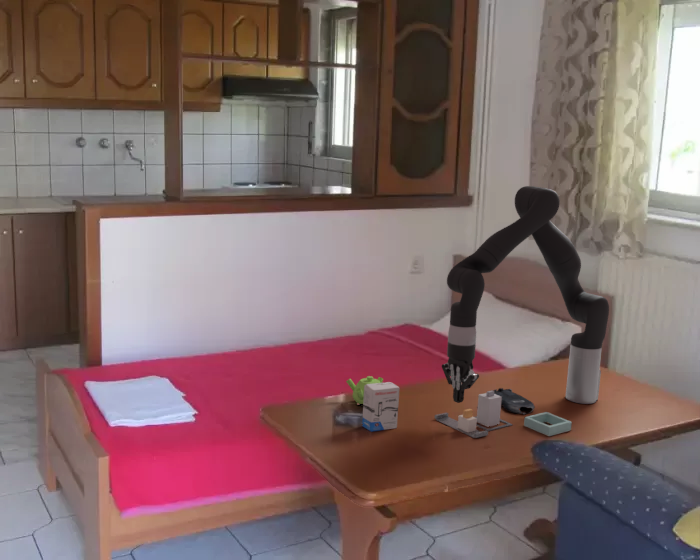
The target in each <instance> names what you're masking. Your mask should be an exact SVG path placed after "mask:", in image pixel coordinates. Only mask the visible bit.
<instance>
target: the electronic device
mask: <svg viewBox="0 0 700 560" xmlns="http://www.w3.org/2000/svg"><path fill="white" fill-rule="evenodd" d="M490 391H494V394H496V395H499V396H501V397H502V400H501V407H503V409H505V410H506V411H507V412H510V413H513V414H520V415H525V414H527V413H526V412H524V411H525V408H527V409H529V410H531V411H529V412H528V414H531V413H532V412H533V411H534V410H535V405H534V403H533V402H532V401H530V400H529V399H528V398H525V397H523V396H522V395H520V394H518V393H515V392H513V389H511V388H506V389H504V388H501V387H499V388H497V389H492V390H490ZM521 408H522V409H521ZM519 409H520V410H519Z"/></svg>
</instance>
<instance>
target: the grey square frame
mask: <svg viewBox="0 0 700 560" xmlns="http://www.w3.org/2000/svg"><path fill="white" fill-rule="evenodd" d="M474 417H475V418H477V415H476V416H474ZM500 422H501V423H503V425H502V424H501V425H497V426H495V427H490V428H487V427H486V426H484V425H483V426H482V425H481V424H479V423H476V428H479V429H481V430H483V431H488V432H491V431H495V429H496V430H499V429H503V428H507V427H508V428H509V427H512V426H513V423H510V422H508V421H506V420H503V419H501V418H500ZM505 423H506V424H505Z"/></svg>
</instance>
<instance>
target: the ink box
mask: <svg viewBox="0 0 700 560" xmlns="http://www.w3.org/2000/svg"><path fill="white" fill-rule="evenodd" d="M399 399H400V387H399V386H398V385H397V384H395V383H393V382H390V381H387V382H382V383H374V384H366V385H365V386H364V400H363V405H362V421H361V422H362V424H363V425H362V424H361V426H362V427H363V428H364V429H367V431H369V432H371V433H372V432H379V431H386V430H390V429H391V430H392V429H397V427H398V416H399V415H398V414H399Z"/></svg>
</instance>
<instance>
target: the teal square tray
mask: <svg viewBox="0 0 700 560" xmlns="http://www.w3.org/2000/svg"><path fill="white" fill-rule="evenodd" d="M523 422H524V423H523V426H524V427H526V428H529V429H531V430H532V431H533V430H534V431H535V432H537V433H540V434H542V435H545V436H548V437H551V436H555V435H558V434H561V433H566V432H569V431H571V430H572V423H573V422H572V421H571V420H567V419H566V418H564V417H561V416H558V415H556V414H553V413H551V412H548V411H544V412H540V413H536V414H533V415H528V416H525V417H524V421H523ZM546 423H548V424H546ZM549 424H550V425H549Z"/></svg>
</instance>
